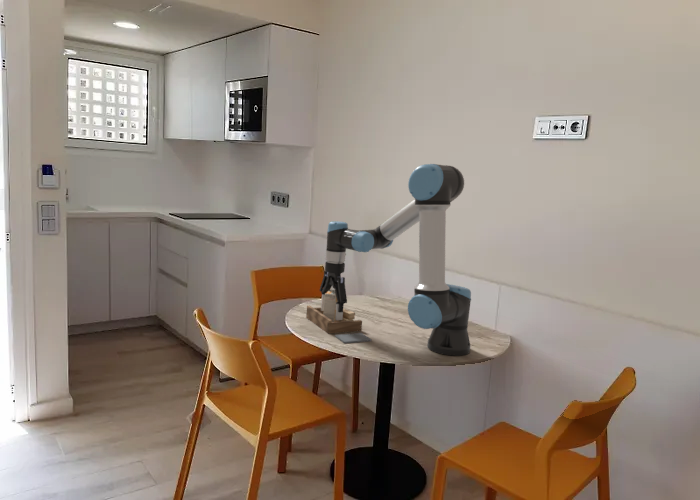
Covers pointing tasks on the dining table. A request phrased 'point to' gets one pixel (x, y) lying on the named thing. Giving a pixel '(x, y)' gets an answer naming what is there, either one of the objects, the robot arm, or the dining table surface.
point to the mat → (353, 338)
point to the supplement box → (330, 305)
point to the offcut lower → (345, 320)
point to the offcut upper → (348, 314)
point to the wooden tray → (327, 324)
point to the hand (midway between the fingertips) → (331, 315)
